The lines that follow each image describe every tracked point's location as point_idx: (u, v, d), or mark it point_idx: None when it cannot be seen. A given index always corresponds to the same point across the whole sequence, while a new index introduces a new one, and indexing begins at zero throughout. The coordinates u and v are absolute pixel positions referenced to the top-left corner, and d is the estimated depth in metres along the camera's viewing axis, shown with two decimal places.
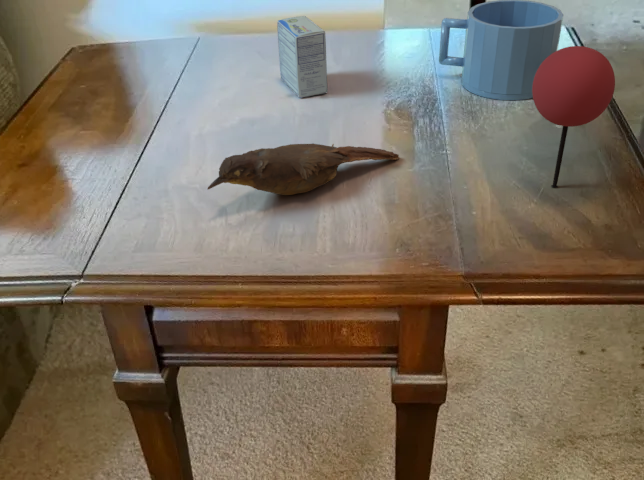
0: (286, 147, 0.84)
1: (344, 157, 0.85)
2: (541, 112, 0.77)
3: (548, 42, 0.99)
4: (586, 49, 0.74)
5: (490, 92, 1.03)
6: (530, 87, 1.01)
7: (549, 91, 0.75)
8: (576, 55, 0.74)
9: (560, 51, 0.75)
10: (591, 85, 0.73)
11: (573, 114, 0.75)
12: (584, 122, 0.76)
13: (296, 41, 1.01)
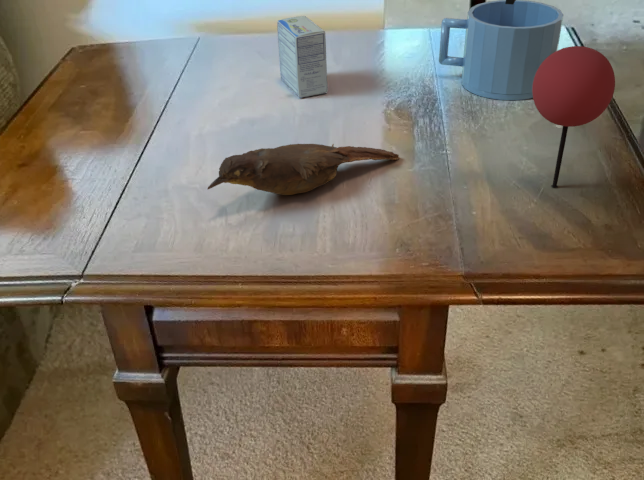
0: (286, 147, 0.84)
1: (344, 157, 0.85)
2: (541, 112, 0.77)
3: (548, 42, 0.99)
4: (586, 49, 0.74)
5: (490, 92, 1.03)
6: (530, 87, 1.01)
7: (549, 91, 0.75)
8: (576, 55, 0.74)
9: (560, 51, 0.75)
10: (591, 85, 0.73)
11: (573, 114, 0.75)
12: (584, 122, 0.76)
13: (296, 41, 1.01)
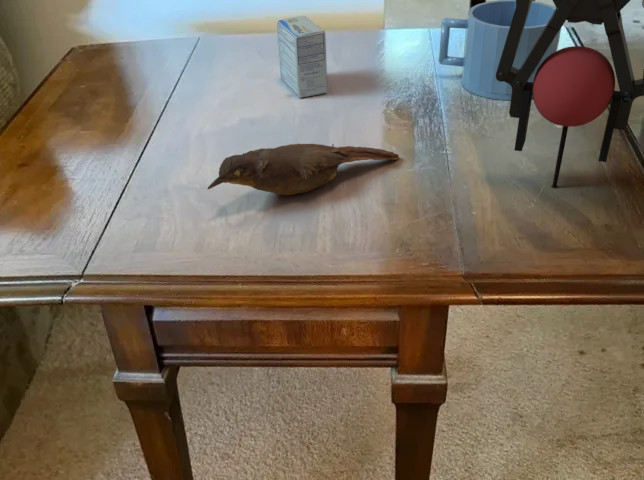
0: (286, 147, 0.84)
1: (344, 157, 0.85)
2: (541, 112, 0.77)
3: None
4: (586, 49, 0.74)
5: (490, 92, 1.03)
6: None
7: (549, 91, 0.75)
8: (576, 55, 0.74)
9: (560, 51, 0.75)
10: (591, 85, 0.73)
11: (573, 114, 0.75)
12: (584, 122, 0.76)
13: (296, 41, 1.01)
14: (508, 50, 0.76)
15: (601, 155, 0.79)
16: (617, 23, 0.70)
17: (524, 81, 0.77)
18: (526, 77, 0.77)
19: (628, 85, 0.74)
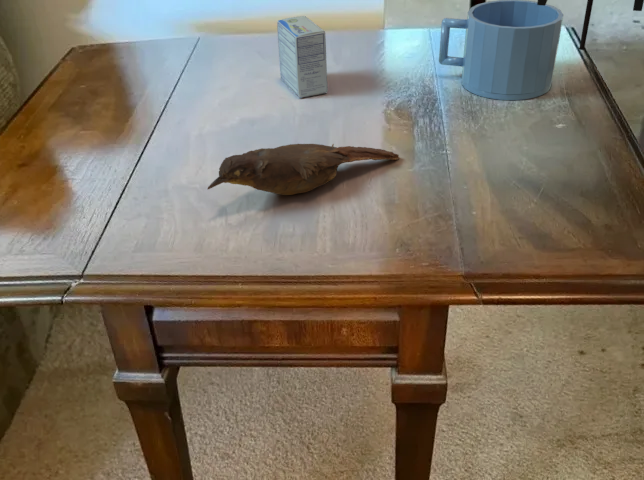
0: (286, 147, 0.84)
1: (344, 157, 0.85)
2: None
3: (548, 42, 0.99)
4: None
5: (490, 92, 1.03)
6: (530, 87, 1.01)
7: None
8: None
9: None
10: None
11: None
12: None
13: (296, 41, 1.01)
14: None
15: (636, 3, 0.70)
16: None
17: None
18: None
19: None
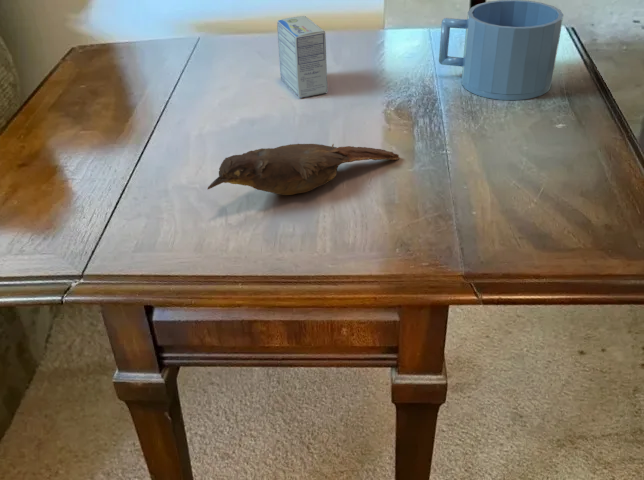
0: (286, 147, 0.84)
1: (344, 157, 0.85)
2: None
3: (548, 42, 0.99)
4: None
5: (490, 92, 1.03)
6: (530, 87, 1.01)
7: None
8: None
9: None
10: None
11: None
12: None
13: (296, 41, 1.01)
14: None
15: None
16: None
17: None
18: None
19: None
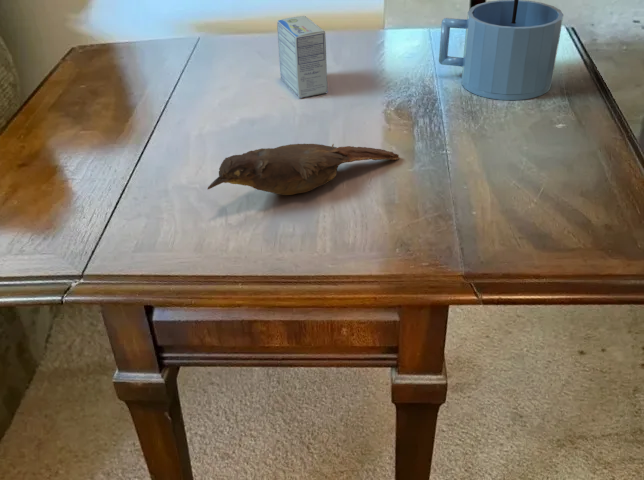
0: (286, 147, 0.84)
1: (344, 157, 0.85)
2: None
3: (548, 42, 0.99)
4: None
5: (490, 92, 1.03)
6: (530, 87, 1.01)
7: None
8: None
9: None
10: None
11: None
12: None
13: (296, 41, 1.01)
14: None
15: None
16: None
17: None
18: None
19: None
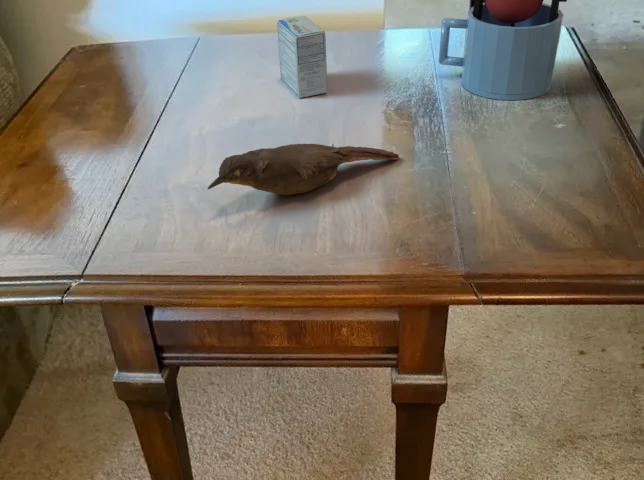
0: (286, 147, 0.84)
1: (344, 157, 0.85)
2: (491, 13, 1.01)
3: (548, 42, 0.99)
4: None
5: (490, 92, 1.03)
6: (530, 87, 1.01)
7: None
8: None
9: None
10: None
11: (514, 9, 0.98)
12: (524, 16, 0.99)
13: (296, 41, 1.01)
14: None
15: None
16: None
17: None
18: None
19: None
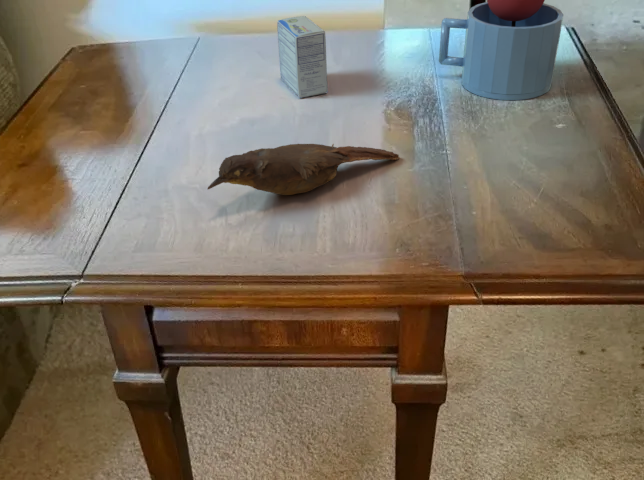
0: (286, 147, 0.84)
1: (344, 157, 0.85)
2: (494, 9, 1.01)
3: (548, 42, 0.99)
4: None
5: (490, 92, 1.03)
6: (530, 87, 1.01)
7: None
8: None
9: None
10: None
11: (517, 3, 0.99)
12: (526, 12, 1.00)
13: (296, 41, 1.01)
14: None
15: None
16: None
17: None
18: None
19: None
